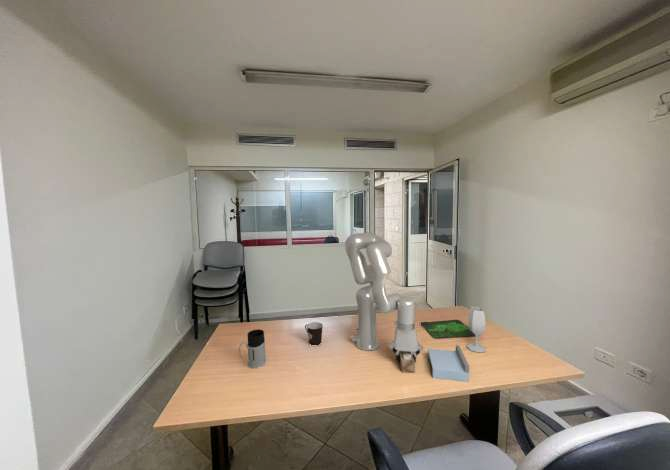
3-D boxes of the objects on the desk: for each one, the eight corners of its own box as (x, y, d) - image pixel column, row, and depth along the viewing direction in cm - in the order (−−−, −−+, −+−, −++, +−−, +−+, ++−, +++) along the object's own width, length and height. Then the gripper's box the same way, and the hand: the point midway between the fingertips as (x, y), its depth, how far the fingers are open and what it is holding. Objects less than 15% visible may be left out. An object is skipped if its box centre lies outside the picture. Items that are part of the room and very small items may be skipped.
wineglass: (488, 353, 130) (490, 312, 128) (469, 352, 131) (470, 311, 129) (482, 345, 138) (483, 306, 136) (464, 343, 140) (465, 305, 138)
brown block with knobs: (402, 372, 116) (402, 358, 115) (397, 357, 128) (397, 344, 127) (414, 372, 116) (415, 358, 115) (409, 357, 128) (409, 344, 127)
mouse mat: (433, 340, 145) (433, 338, 145) (417, 323, 167) (417, 321, 167) (480, 336, 148) (480, 335, 148) (458, 320, 169) (458, 319, 169)
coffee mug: (325, 345, 141) (324, 327, 140) (309, 348, 138) (309, 330, 137) (318, 335, 152) (318, 319, 151) (304, 338, 149) (303, 321, 148)
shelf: (433, 378, 112) (433, 362, 111) (427, 356, 128) (428, 342, 128) (468, 382, 109) (469, 366, 108) (458, 359, 125) (459, 345, 125)
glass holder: (270, 360, 127) (269, 331, 126) (247, 377, 115) (245, 344, 114) (257, 356, 132) (256, 327, 130) (234, 371, 120) (232, 339, 118)
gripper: (386, 327, 118) (386, 365, 120) (426, 330, 115) (426, 369, 116) (386, 320, 126) (387, 356, 127) (424, 323, 122) (424, 360, 124)
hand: (405, 362), depth 122 cm, fingers closed on brown block with knobs, 6 cm apart
